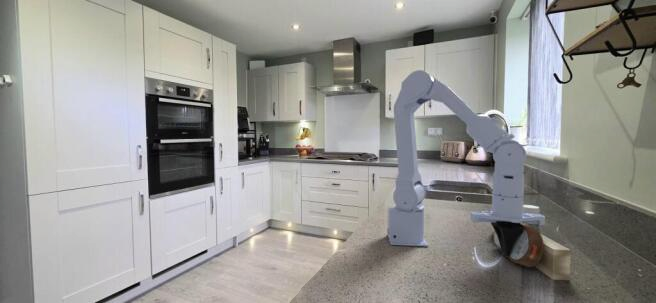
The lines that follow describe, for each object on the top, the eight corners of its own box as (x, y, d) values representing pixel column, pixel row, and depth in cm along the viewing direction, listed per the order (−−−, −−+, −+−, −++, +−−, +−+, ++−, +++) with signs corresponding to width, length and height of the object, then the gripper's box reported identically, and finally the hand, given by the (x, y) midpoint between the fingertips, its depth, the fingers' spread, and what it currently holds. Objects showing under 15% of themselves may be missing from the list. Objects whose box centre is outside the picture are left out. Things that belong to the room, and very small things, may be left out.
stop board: (552, 279, 51) (553, 249, 51) (491, 234, 75) (492, 213, 75) (569, 280, 51) (570, 250, 51) (502, 234, 75) (503, 214, 74)
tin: (534, 275, 53) (552, 237, 52) (518, 268, 53) (536, 231, 53) (498, 244, 68) (512, 215, 67) (486, 239, 68) (500, 210, 67)
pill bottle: (544, 239, 71) (545, 209, 71) (524, 238, 72) (525, 208, 72) (534, 233, 76) (535, 204, 75) (515, 232, 77) (516, 203, 76)
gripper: (481, 197, 55) (479, 260, 56) (556, 199, 54) (553, 264, 54) (467, 191, 62) (466, 247, 63) (534, 192, 61) (531, 250, 61)
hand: (505, 254), depth 59 cm, fingers closed, pressing on tin
